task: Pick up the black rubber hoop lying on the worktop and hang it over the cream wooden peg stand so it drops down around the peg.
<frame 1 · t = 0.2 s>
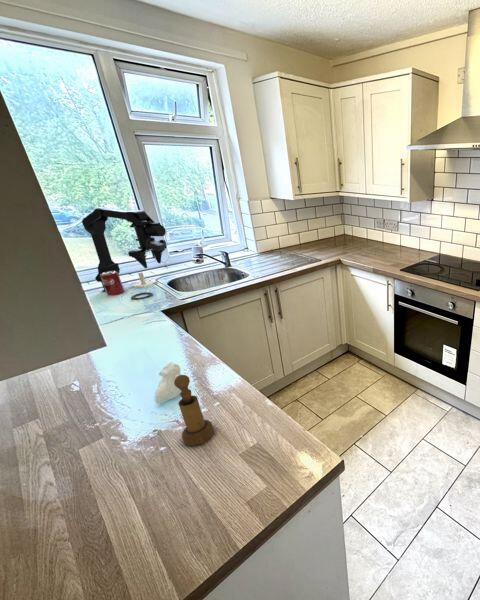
hand: (153, 265, 173), 15 cm above the countertop, tool pointing down, fingers open, 9 cm apart
peg stand: (144, 285, 187), on the countertop
soda can: (116, 294, 174), on the countertop
mortar and pestle: (199, 436, 82), on the countertop
hoop: (142, 296, 169), point 1 cm above the countertop
bust: (173, 395, 97), on the countertop
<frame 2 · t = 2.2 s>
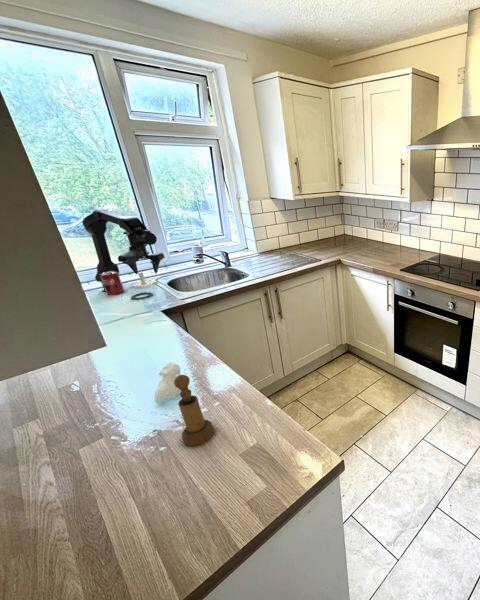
hand: (146, 273, 168), 12 cm above the countertop, tool pointing down, fingers open, 9 cm apart
nothing on the countertop moved.
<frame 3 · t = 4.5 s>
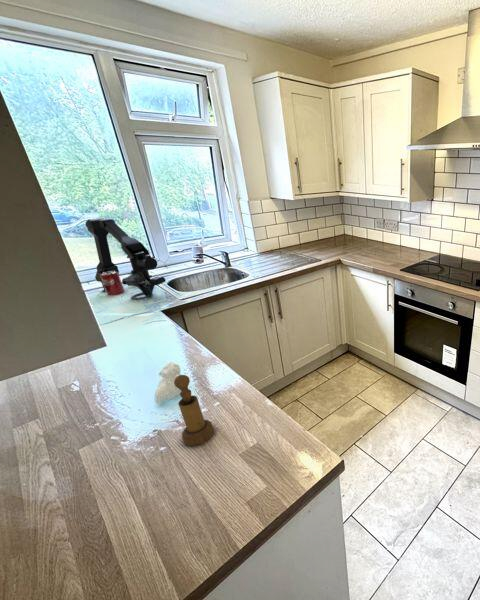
hand: (148, 296, 169), 1 cm above the countertop, tool pointing down, fingers closed on hoop, 1 cm apart
soda can: (116, 294, 174), on the countertop, touching arm
hoop: (142, 296, 169), point 1 cm above the countertop, touching gripper
everything else where it was.
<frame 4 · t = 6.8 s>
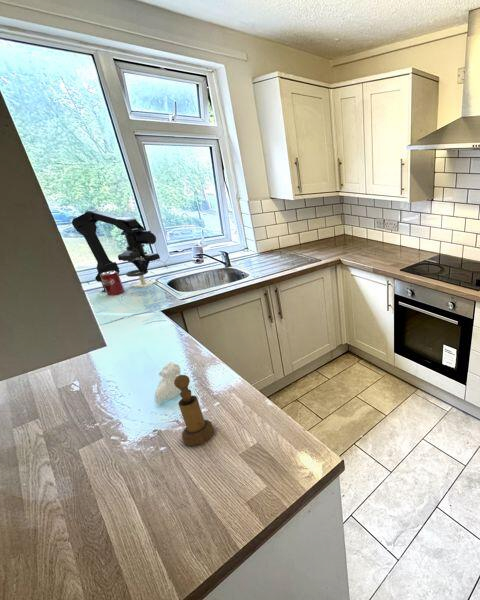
hand: (143, 272, 174), 11 cm above the countertop, tool pointing down, fingers closed on hoop
soda can: (116, 294, 174), on the countertop
hoop: (137, 272, 174), point 11 cm above the countertop, touching gripper
everything else where it was.
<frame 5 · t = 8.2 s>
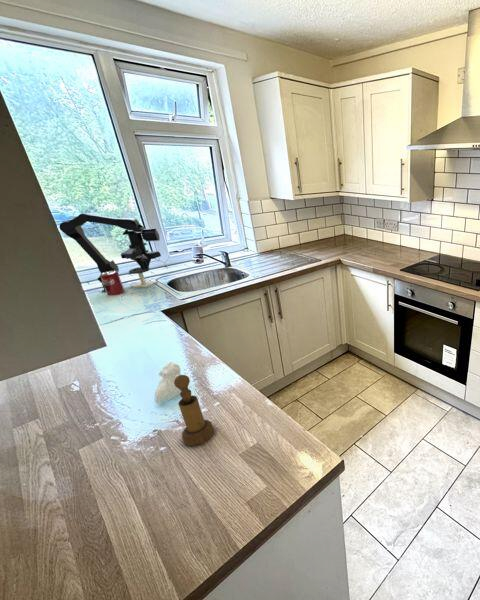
hand: (145, 269, 183), 9 cm above the countertop, tool pointing down, fingers closed on hoop
hoop: (139, 270, 183), point 9 cm above the countertop, touching gripper
everything else where it was.
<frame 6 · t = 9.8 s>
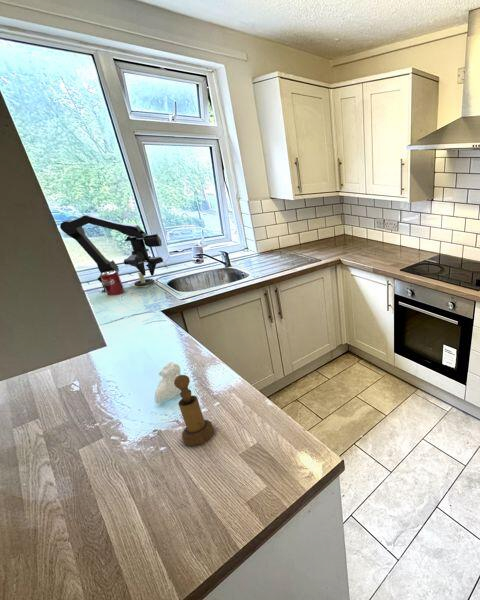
hand: (148, 275, 184), 6 cm above the countertop, tool pointing down, fingers open, 4 cm apart
hoop: (144, 282, 186), point 2 cm above the countertop, touching peg stand
everything else where it was.
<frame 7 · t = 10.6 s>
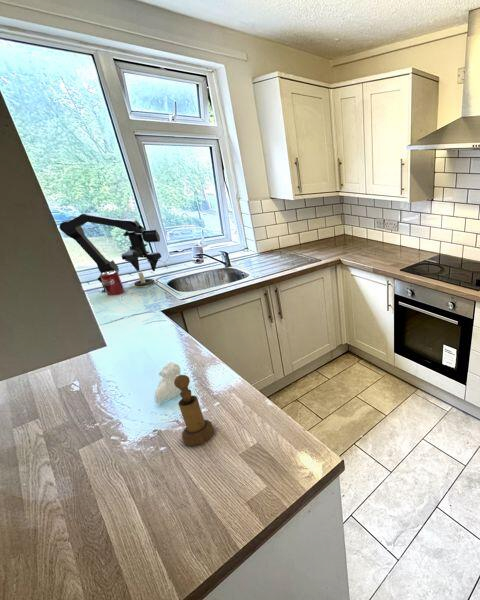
hand: (146, 270, 183), 9 cm above the countertop, tool pointing down, fingers open, 9 cm apart
nothing on the countertop moved.
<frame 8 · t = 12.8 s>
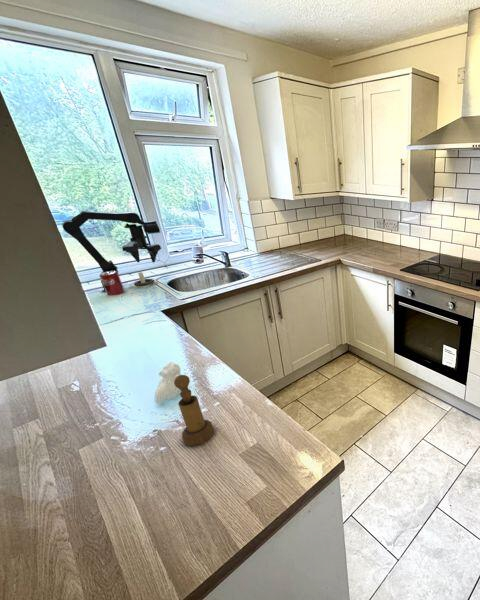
hand: (146, 262, 188), 12 cm above the countertop, tool pointing down, fingers open, 9 cm apart
nothing on the countertop moved.
at the end: hoop 0.8 cm from the peg stand (horizontally); hoop point 2.0 cm above the countertop; the gripper is holding nothing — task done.
